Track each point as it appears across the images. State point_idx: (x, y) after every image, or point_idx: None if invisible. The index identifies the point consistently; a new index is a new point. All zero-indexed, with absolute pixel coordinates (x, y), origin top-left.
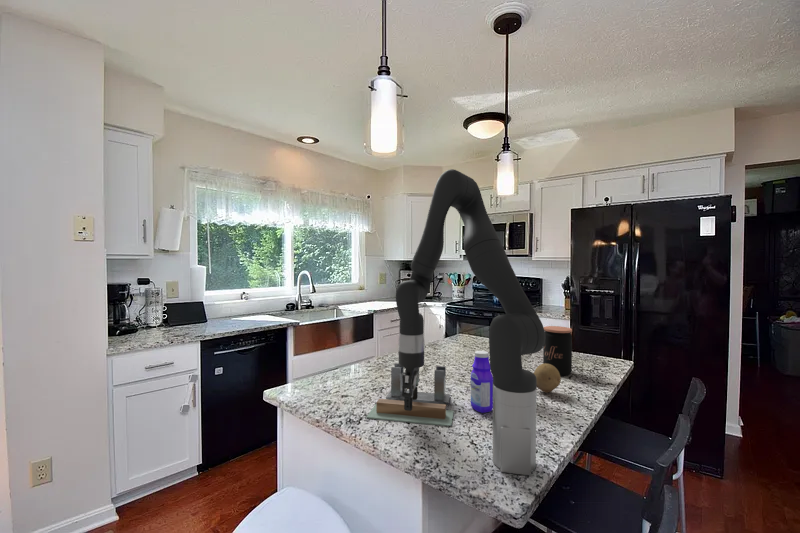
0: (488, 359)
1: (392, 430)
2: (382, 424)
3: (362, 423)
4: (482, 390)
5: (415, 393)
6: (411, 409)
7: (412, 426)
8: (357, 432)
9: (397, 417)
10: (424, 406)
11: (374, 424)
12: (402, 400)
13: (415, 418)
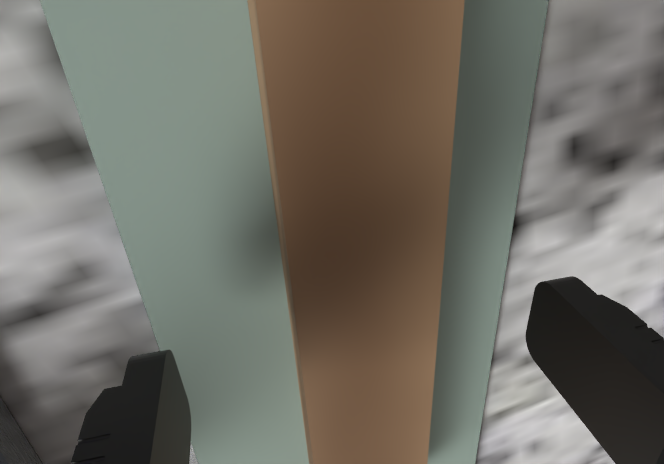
0: None
1: (643, 285)
2: None
3: (539, 461)
4: None
5: (162, 440)
6: (576, 283)
7: (580, 171)
8: None
9: (449, 340)
10: (438, 163)
11: (550, 409)
12: (26, 455)
13: None
